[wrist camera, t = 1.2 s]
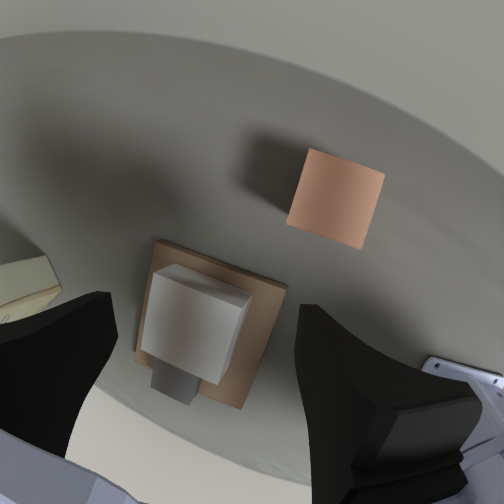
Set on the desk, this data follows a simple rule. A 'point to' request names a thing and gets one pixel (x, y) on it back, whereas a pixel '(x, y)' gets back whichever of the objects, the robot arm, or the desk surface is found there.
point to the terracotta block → (335, 198)
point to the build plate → (251, 331)
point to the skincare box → (26, 288)
